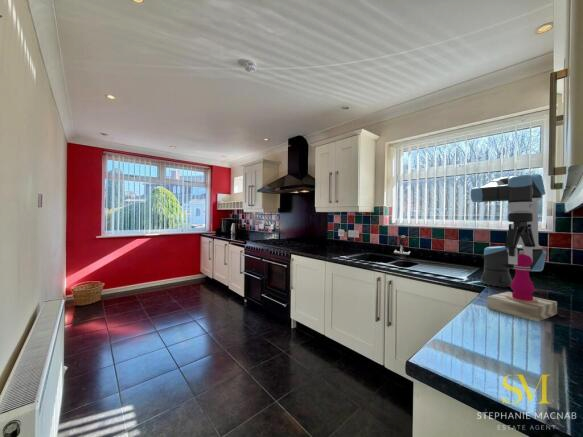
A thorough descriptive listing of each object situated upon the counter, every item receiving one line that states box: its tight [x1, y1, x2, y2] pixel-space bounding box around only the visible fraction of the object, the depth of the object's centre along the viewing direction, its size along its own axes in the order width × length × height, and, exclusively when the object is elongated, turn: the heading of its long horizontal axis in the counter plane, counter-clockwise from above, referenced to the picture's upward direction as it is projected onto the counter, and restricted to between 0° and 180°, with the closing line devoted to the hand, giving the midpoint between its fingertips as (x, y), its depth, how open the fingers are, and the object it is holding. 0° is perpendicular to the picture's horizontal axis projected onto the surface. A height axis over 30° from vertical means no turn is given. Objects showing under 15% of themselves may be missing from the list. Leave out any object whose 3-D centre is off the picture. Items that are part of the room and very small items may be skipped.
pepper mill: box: [510, 251, 535, 301], centre depth 101 cm, size 7×7×20 cm
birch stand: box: [486, 291, 558, 322], centre depth 101 cm, size 18×16×5 cm
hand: (520, 263), depth 102 cm, fingers open, 13 cm apart
